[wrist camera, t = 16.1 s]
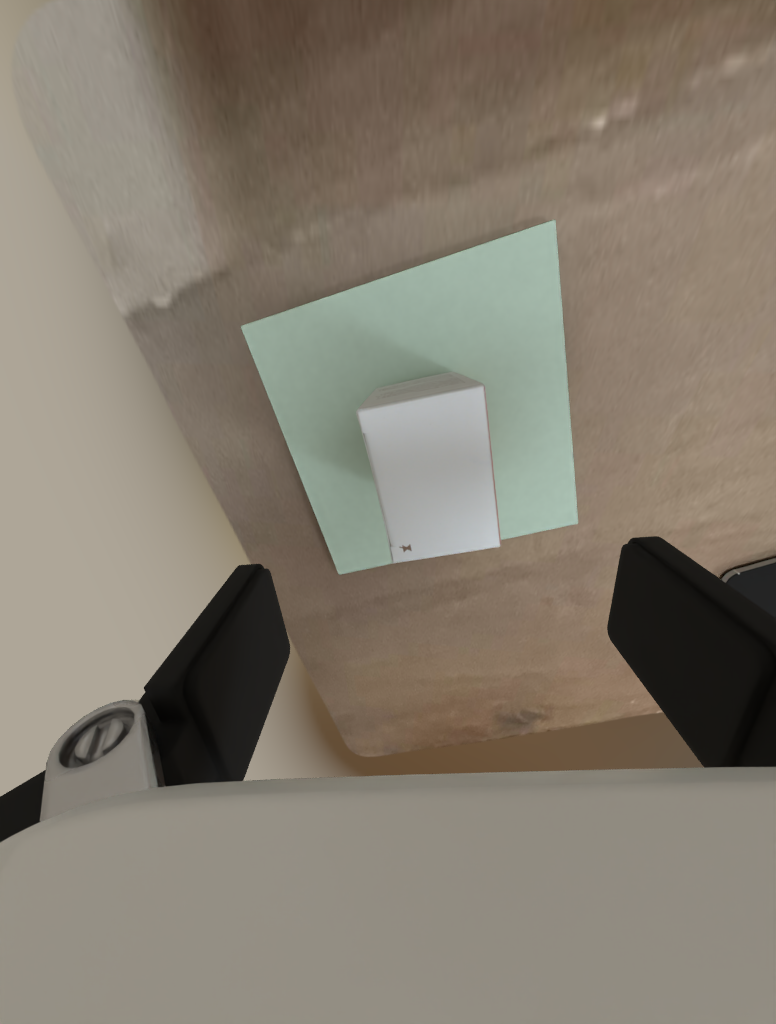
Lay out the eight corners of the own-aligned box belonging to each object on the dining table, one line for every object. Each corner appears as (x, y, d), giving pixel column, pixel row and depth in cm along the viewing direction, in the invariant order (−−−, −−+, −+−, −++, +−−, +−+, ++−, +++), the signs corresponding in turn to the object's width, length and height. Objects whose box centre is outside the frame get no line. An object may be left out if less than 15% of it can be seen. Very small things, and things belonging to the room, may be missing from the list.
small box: (469, 480, 27) (503, 551, 18) (396, 493, 28) (391, 568, 18) (455, 368, 24) (488, 381, 14) (373, 386, 25) (353, 409, 15)
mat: (339, 571, 32) (338, 575, 31) (243, 326, 24) (240, 326, 24) (575, 520, 29) (578, 523, 28) (551, 222, 21) (555, 218, 21)
